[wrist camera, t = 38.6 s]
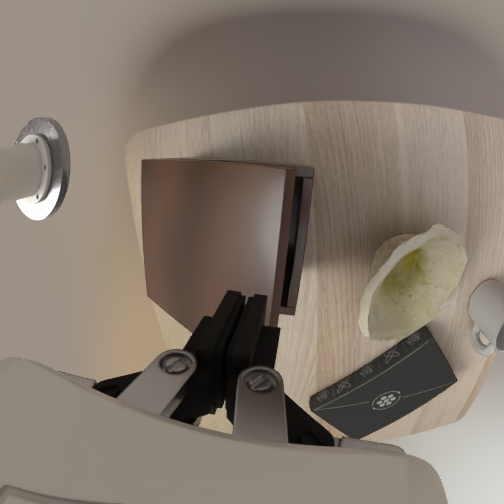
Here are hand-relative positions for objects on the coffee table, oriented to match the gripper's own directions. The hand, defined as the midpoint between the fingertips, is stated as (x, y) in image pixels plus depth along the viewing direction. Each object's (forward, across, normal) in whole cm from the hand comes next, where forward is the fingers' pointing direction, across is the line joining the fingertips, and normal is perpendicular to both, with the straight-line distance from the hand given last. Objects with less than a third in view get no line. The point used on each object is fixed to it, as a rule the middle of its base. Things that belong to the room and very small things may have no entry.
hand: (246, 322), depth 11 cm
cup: (+22, -33, +9) cm, 40 cm away
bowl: (+22, -16, +4) cm, 27 cm away
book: (+22, -21, +25) cm, 39 cm away
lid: (+7, +5, 0) cm, 9 cm away
